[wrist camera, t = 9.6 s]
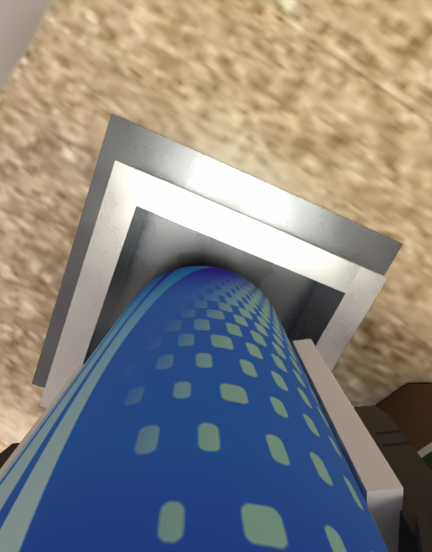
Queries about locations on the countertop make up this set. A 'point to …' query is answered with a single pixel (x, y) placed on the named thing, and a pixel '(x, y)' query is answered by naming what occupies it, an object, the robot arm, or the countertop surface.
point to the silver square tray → (205, 249)
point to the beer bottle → (413, 416)
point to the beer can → (187, 438)
